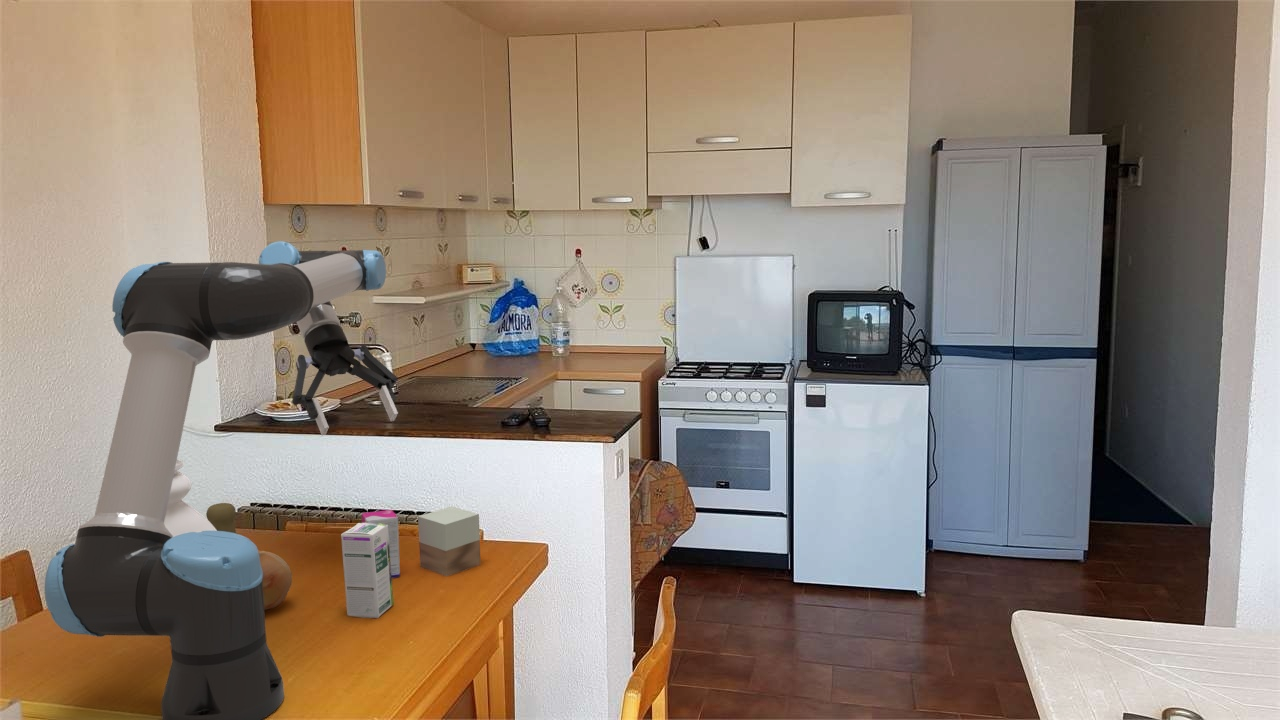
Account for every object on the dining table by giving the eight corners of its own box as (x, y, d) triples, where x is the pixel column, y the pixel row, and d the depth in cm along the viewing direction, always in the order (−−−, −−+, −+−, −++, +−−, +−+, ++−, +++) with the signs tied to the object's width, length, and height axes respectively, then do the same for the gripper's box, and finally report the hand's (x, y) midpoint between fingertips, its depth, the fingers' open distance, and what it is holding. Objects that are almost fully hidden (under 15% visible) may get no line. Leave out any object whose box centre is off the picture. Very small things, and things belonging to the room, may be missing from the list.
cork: (207, 556, 189) (203, 502, 187) (240, 551, 191) (236, 498, 190) (208, 566, 183) (203, 510, 182) (242, 561, 186) (238, 506, 184)
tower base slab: (446, 577, 177) (445, 551, 176) (420, 567, 182) (419, 542, 181) (480, 565, 183) (479, 539, 182) (454, 556, 188) (453, 531, 187)
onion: (306, 604, 165) (303, 547, 163) (256, 624, 156) (252, 566, 155) (270, 593, 170) (266, 538, 168) (219, 612, 162) (215, 555, 160)
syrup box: (378, 619, 158) (373, 534, 156) (345, 616, 159) (340, 532, 157) (394, 605, 164) (389, 523, 162) (362, 603, 165) (357, 521, 163)
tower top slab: (446, 550, 176) (444, 524, 175) (419, 542, 181) (418, 516, 181) (479, 539, 182) (478, 514, 181) (452, 531, 187) (451, 506, 187)
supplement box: (401, 576, 177) (398, 516, 175) (368, 582, 174) (365, 521, 173) (395, 566, 182) (392, 508, 180) (363, 572, 180) (359, 512, 178)
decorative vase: (229, 581, 176) (219, 447, 172) (224, 618, 159) (212, 471, 155) (120, 595, 170) (107, 457, 166) (102, 635, 153) (87, 483, 149)
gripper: (377, 335, 199) (415, 421, 191) (254, 354, 183) (290, 448, 175) (387, 314, 193) (426, 401, 186) (261, 331, 178) (298, 427, 170)
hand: (360, 424), depth 180 cm, fingers open, 13 cm apart
